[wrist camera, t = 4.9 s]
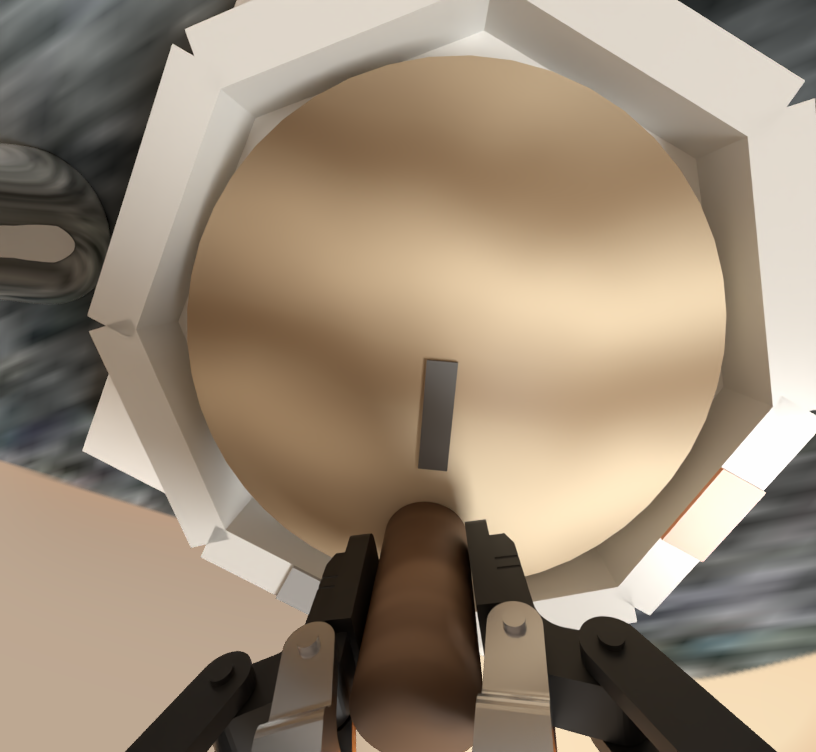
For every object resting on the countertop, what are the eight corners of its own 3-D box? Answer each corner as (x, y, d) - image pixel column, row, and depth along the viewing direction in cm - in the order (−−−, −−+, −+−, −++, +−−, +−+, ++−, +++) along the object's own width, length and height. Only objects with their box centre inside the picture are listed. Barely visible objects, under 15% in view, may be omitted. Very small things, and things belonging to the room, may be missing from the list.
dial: (197, 69, 13) (-120, -194, 6) (759, 93, 12) (1264, -189, 5) (222, 534, 17) (63, 727, 10) (636, 581, 16) (795, 833, 9)
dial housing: (316, -109, 13) (260, -281, 9) (864, 227, 14) (1035, 209, 10) (118, 432, 19) (27, 478, 15) (524, 642, 20) (546, 739, 16)
